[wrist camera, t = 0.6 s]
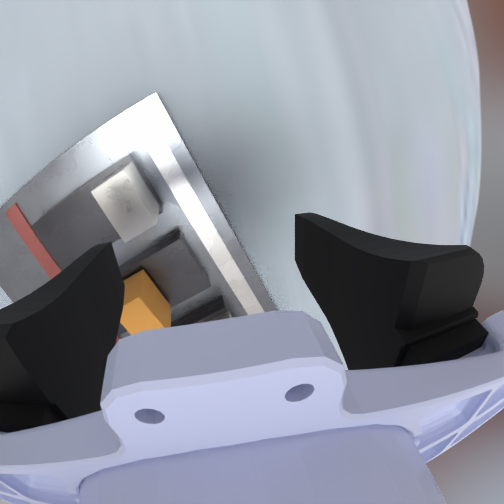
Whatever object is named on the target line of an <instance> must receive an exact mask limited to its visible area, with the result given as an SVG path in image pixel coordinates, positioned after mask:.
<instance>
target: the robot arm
mask: <svg viewBox="0 0 504 504" xmlns="http://www.w3.org/2000/svg"><path fill="white" fill-rule="evenodd" d="M295 261H296V263H297V266H298V269H299V271H300V273H301V276H302V278H303V280H304V281H305V283H306V285H307V287H308V288H309V290H310V292H311V293H312V295H313V296H314V298H315V300H316V301H317V303H318V305H319V306H320V308H321V310H322V311H323V313H324V314H325V316H326V318H327V320H328V322H329V324H330V325H331V328H332V330H333V332H334V335H335V337H336V339H337V342H338V344H339V346H340V349H341V351H342V354H343V357H344V359H345V362H346V364H347V367H348V370H345V368H344V365H343V363H342V361H341V359H340V357H339V355H338V354H337V352H336V350H335V348H334V346H333V344H332V342H331V341H330V339H329V337H328V335H327V333H326V331H325V330H324V328H323V326H322V324H321V322H319V321H318V320H316V319H314V318H313V317H311V316H310V315H308V314H306V313H305V312H303V311H269V312H263V313H258V314H252V315H246V316H240V317H234V318H228V319H222V320H216V321H209V322H203V323H196V324H189V325H182V326H175V327H168V328H160V329H153V330H145V331H142V332H139V333H136V334H133V335H130V336H128V337H125V338H122V339H119V341H118V342H117V343H116V339H117V334H118V329H119V325H120V320H121V315H122V311H123V305H124V292H125V285H124V282H123V278H122V275H121V272H120V269H119V266H118V262H117V259H116V256H115V252H114V249H113V246H112V242H108V243H102V244H97V245H95V246H93V247H92V248H90V249H89V250H88V251H86V252H85V253H84V254H82V255H81V256H80V257H79V258H77V259H76V260H75V261H74V262H73V263H71V264H70V265H69V266H68V267H66V268H65V269H64V270H62V271H61V272H60V273H59V274H57V275H56V276H55V277H54V278H52V279H51V280H50V281H48V282H47V283H45V284H44V285H43V286H41V287H40V288H38V289H36V290H35V291H33V292H32V293H30V294H29V295H27V296H25V297H23V298H21V299H20V300H18V301H16V302H14V303H13V304H11V305H9V306H7V307H4V308H2V309H0V499H1V500H3V501H6V502H8V503H11V504H447V503H446V501H445V499H444V497H443V495H442V493H441V492H440V490H439V488H438V486H437V484H436V482H435V480H434V478H433V476H432V474H431V473H430V471H429V469H428V467H427V465H426V463H427V462H428V461H430V460H432V459H433V458H435V457H437V456H438V455H440V454H441V453H443V452H444V451H446V450H447V449H448V448H450V447H452V446H453V445H455V444H456V443H458V442H459V441H460V440H462V439H463V438H465V437H466V436H468V435H469V434H470V433H471V432H473V431H474V430H476V429H477V428H478V427H480V426H481V425H482V424H483V423H485V422H486V421H488V420H489V419H490V418H492V417H493V416H494V415H495V414H497V413H498V412H499V411H501V410H502V409H503V408H504V310H502V311H500V312H498V313H496V314H494V315H492V316H491V317H488V318H487V319H486V320H485V321H484V322H483V323H482V324H480V323H479V322H478V321H477V320H476V319H475V318H477V316H478V311H477V310H476V309H475V308H474V307H473V304H474V301H475V299H476V296H477V293H478V291H479V288H480V285H481V282H482V278H483V273H484V264H483V259H482V257H481V256H480V254H479V253H477V252H476V251H475V250H474V249H472V248H471V247H469V246H467V245H431V244H420V243H412V242H406V241H400V240H395V239H390V238H386V237H382V236H378V235H374V234H371V233H367V232H364V231H361V230H358V229H355V228H353V227H350V226H347V225H345V224H342V223H339V222H337V221H334V220H332V219H329V218H326V217H324V216H321V215H318V214H314V213H302V214H295ZM115 344H116V345H115Z"/></svg>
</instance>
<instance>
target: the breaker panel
mask: <svg viewBox="0 0 504 504" xmlns="http://www.w3.org/2000/svg"><path fill="white" fill-rule="evenodd" d="M108 242H112V246H113V249H114V252H115V256H116V259H117V262H118V266H119V269H120V272H121V275H122V278H123V281H124V280H126V279H127V278H129V277H131V276H132V275H134V274H136V273H137V272H139V271H141V270H144V271H145V272H146V274H147V275H148V277H149V278H150V279H151V281H152V282H153V283H154V285H155V286H156V287H157V288H158V290H159V291H160V292H161V294H162V295H163V296H164V298H165V299H166V300H167V302H168V303H169V304H170V311H171V327H175V326H182V325H189V324H196V323H203V322H209V321H216V320H222V319H228V318H234V317H240V316H246V315H252V314H258V313H263V312H269V311H277V309H276V307H275V305H274V304H273V302H272V300H271V298H270V296H269V295H268V293H267V291H266V289H265V288H264V286H263V284H262V282H261V280H260V279H259V277H258V275H257V273H256V272H255V270H254V268H253V266H252V264H251V263H250V261H249V259H248V257H247V255H246V254H245V252H244V250H243V248H242V246H241V245H240V243H239V241H238V239H237V238H236V236H235V234H234V232H233V230H232V229H231V227H230V225H229V223H228V221H227V220H226V218H225V216H224V214H223V212H222V211H221V209H220V207H219V205H218V203H217V202H216V200H215V198H214V196H213V194H212V193H211V191H210V189H209V187H208V185H207V184H206V182H205V180H204V178H203V176H202V175H201V173H200V171H199V169H198V167H197V165H196V164H195V162H194V160H193V158H192V156H191V155H190V153H189V151H188V149H187V147H186V146H185V144H184V142H183V140H182V138H181V136H180V135H179V133H178V131H177V129H176V127H175V126H174V124H173V122H172V120H171V118H170V116H169V115H168V113H167V111H166V109H165V107H164V105H163V104H162V102H161V100H160V98H159V96H158V95H157V93H154V94H152V95H151V96H149V97H147V98H145V99H144V100H142V101H140V102H138V103H137V104H135V105H133V106H132V107H130V108H129V109H127V110H125V111H124V112H122V113H121V114H119V115H117V116H116V117H114V118H113V119H111V120H110V121H108V122H107V123H105V124H104V125H102V126H101V127H99V128H98V129H96V130H95V131H93V132H92V133H90V134H89V135H88V136H86V137H85V138H83V139H82V140H81V141H79V142H78V143H77V144H75V145H74V146H73V147H71V148H70V149H69V150H67V151H66V152H65V153H63V154H62V155H61V156H59V157H58V158H57V159H56V160H54V161H53V162H52V163H51V164H49V165H48V166H47V167H46V168H45V169H43V170H42V171H41V172H40V173H39V174H37V175H36V176H35V177H34V178H33V179H32V180H30V181H29V182H28V183H27V184H26V185H25V186H24V187H23V188H21V189H20V190H19V191H18V192H17V193H16V194H15V195H14V196H13V197H12V198H11V199H10V200H9V201H7V202H6V203H5V204H4V205H3V206H2V207H1V208H0V286H1V287H2V289H3V290H4V291H5V292H6V294H7V295H8V296H9V297H10V299H11V300H12V301H13V302H16V301H18V300H20V299H21V298H23V297H25V296H27V295H29V294H30V293H32V292H33V291H35V290H36V289H38V288H40V287H41V286H43V285H44V284H45V283H47V282H48V281H50V280H51V279H52V278H54V277H55V276H56V275H57V274H59V273H60V272H61V271H62V270H64V269H65V268H66V267H68V266H69V265H70V264H71V263H73V262H74V261H75V260H76V259H77V258H79V257H80V256H81V255H82V254H84V253H85V252H86V251H88V250H89V249H90V248H92V247H93V246H95V245H97V244H102V243H108ZM130 335H131V334H130V333H129V332H128V331H127V330H126V328H125V327H124V326H123V325H122V324H121V323H120V325H119V329H118V334H117V339H116V343H117V342H118V341H119V339H122V338H125V337H128V336H130ZM115 345H116V344H115Z"/></svg>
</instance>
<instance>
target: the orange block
mask: <svg viewBox="0 0 504 504" xmlns="http://www.w3.org/2000/svg"><path fill="white" fill-rule="evenodd" d="M123 282H124V285H125V292H124V305H123V311H122V315H121V320H120V323H121V324H122V325H123V326H124V327H125V328H126V330H127V331H128V332H129V333H130V334H131V335H133V334H136V333H139V332H142V331H145V330H153V329H160V328H168V327H171V311H170V304H169V303H168V302H167V300H166V299H165V298H164V296H163V295H162V294H161V292H160V291H159V290H158V288H157V287H156V286H155V285H154V283H153V282H152V281H151V279H150V278H149V277H148V275H147V274H146V272H145V271H144V270H141V271H139V272H137V273H136V274H134V275H132V276H131V277H129V278H127V279H126V280H124V281H123Z"/></svg>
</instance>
